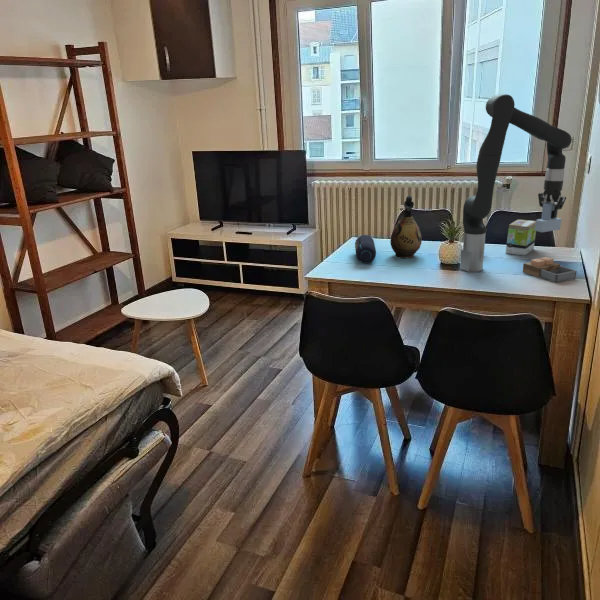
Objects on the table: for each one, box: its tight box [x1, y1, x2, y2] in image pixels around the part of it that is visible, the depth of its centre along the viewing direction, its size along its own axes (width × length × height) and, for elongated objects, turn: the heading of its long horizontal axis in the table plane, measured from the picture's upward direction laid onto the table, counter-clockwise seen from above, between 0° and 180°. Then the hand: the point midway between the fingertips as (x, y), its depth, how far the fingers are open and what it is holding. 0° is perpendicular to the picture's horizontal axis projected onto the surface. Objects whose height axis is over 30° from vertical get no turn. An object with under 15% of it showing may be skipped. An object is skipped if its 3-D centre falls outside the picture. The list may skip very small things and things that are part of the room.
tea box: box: [505, 219, 537, 256], centre depth 265 cm, size 15×10×15 cm
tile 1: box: [530, 258, 545, 266], centre depth 232 cm, size 4×4×2 cm
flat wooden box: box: [522, 261, 561, 278], centre depth 234 cm, size 12×9×4 cm
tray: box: [539, 265, 577, 284], centre depth 226 cm, size 11×8×4 cm
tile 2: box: [539, 256, 555, 265], centre depth 234 cm, size 4×4×2 cm
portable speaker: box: [354, 234, 377, 264], centre depth 267 cm, size 25×10×10 cm, turn 176°
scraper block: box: [535, 203, 562, 233], centre depth 239 cm, size 11×4×12 cm, turn 113°
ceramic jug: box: [389, 195, 423, 259], centre depth 264 cm, size 17×15×30 cm
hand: (549, 217), depth 239 cm, fingers closed on scraper block, 4 cm apart
